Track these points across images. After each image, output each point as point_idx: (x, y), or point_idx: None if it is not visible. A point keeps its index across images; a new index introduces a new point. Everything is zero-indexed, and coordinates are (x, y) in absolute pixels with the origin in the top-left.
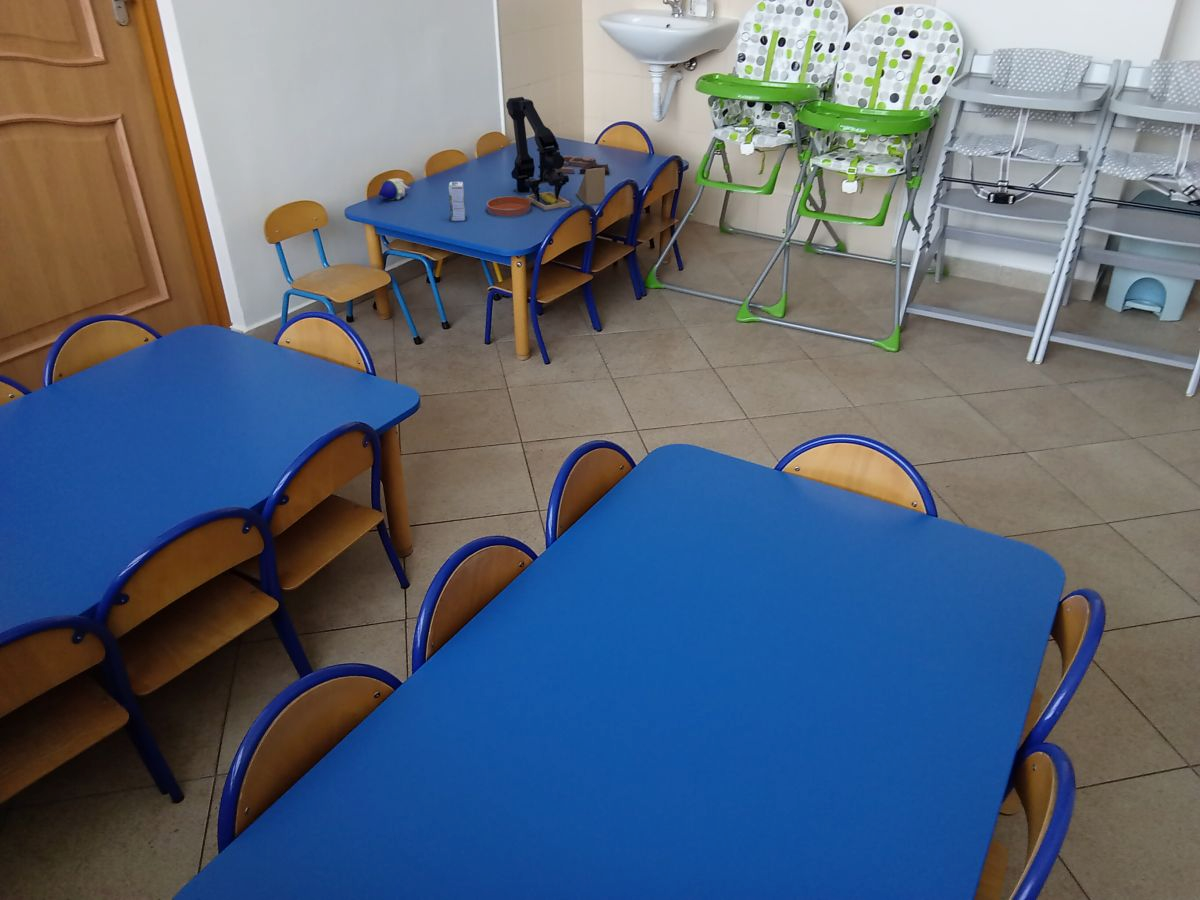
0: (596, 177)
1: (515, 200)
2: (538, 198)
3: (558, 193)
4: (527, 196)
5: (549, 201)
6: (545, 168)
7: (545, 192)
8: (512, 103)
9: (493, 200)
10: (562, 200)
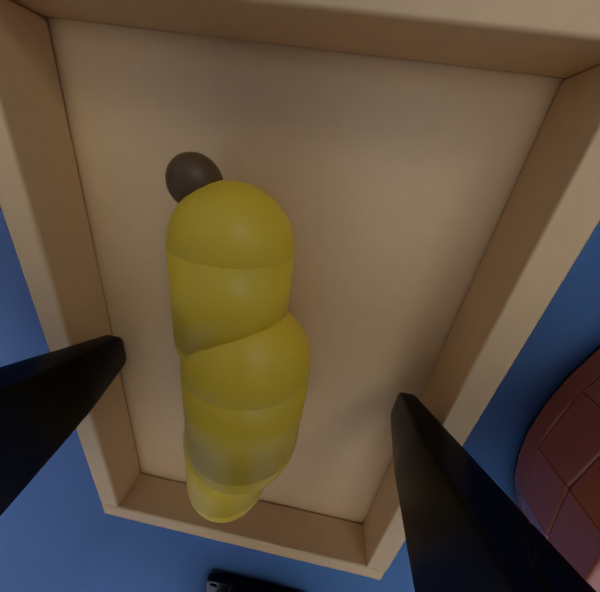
0: None
1: None
2: (449, 446)
3: (6, 375)
4: (386, 564)
5: (289, 292)
6: None
7: (158, 523)
8: None
9: None
10: (61, 227)
